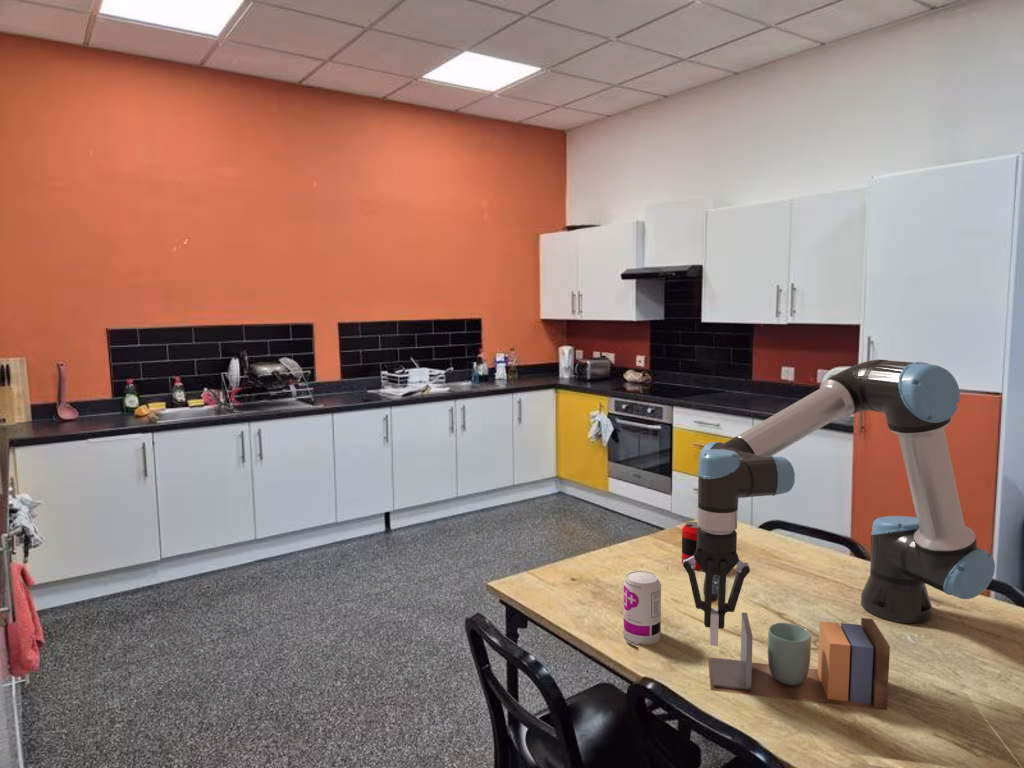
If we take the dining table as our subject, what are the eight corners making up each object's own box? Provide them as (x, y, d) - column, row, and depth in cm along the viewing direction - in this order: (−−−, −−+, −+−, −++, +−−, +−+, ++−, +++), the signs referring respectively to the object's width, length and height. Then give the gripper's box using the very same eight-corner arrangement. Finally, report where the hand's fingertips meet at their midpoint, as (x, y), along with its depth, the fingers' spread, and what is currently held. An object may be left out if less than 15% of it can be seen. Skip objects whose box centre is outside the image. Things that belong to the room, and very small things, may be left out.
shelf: (868, 680, 132) (871, 617, 131) (887, 716, 121) (890, 647, 119) (707, 663, 140) (708, 603, 138) (710, 695, 128) (711, 630, 127)
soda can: (676, 561, 195) (677, 522, 194) (698, 558, 198) (699, 519, 196) (690, 571, 188) (691, 530, 187) (713, 567, 191) (714, 527, 189)
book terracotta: (836, 675, 132) (838, 622, 131) (848, 701, 124) (850, 645, 122) (817, 673, 133) (819, 621, 132) (827, 698, 124) (829, 643, 123)
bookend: (745, 663, 137) (746, 612, 136) (751, 690, 127) (752, 636, 126) (710, 659, 138) (711, 609, 137) (713, 686, 129) (714, 632, 128)
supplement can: (633, 652, 145) (633, 586, 143) (617, 634, 153) (617, 572, 151) (667, 646, 147) (667, 581, 145) (649, 629, 155) (650, 568, 153)
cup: (761, 681, 130) (762, 633, 129) (774, 664, 136) (775, 618, 135) (802, 695, 126) (804, 645, 124) (814, 677, 131) (816, 630, 130)
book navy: (857, 677, 131) (860, 624, 130) (870, 703, 123) (873, 647, 121) (838, 675, 132) (840, 623, 131) (850, 701, 123) (852, 645, 122)
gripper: (749, 524, 132) (745, 637, 135) (682, 520, 135) (680, 630, 138) (754, 537, 125) (749, 655, 128) (683, 532, 128) (680, 647, 131)
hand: (713, 642), depth 133 cm, fingers closed
